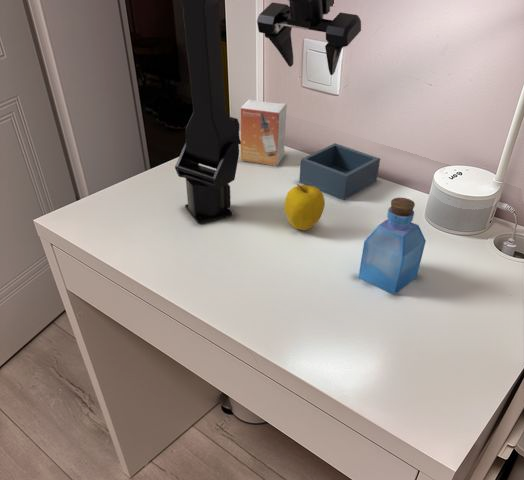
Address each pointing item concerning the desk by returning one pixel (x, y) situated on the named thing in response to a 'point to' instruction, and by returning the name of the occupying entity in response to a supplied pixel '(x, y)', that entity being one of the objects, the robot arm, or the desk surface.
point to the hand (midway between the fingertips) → (311, 69)
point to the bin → (339, 170)
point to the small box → (262, 132)
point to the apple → (304, 206)
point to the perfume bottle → (393, 249)
